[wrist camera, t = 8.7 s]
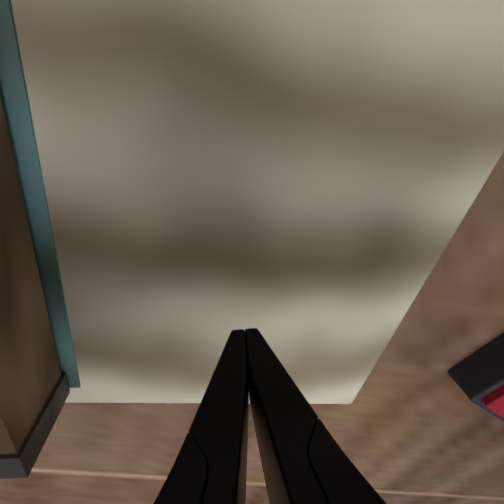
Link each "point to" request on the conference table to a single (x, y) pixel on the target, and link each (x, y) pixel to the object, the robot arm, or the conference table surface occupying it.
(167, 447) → the conference table surface
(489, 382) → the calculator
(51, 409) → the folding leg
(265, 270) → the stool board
